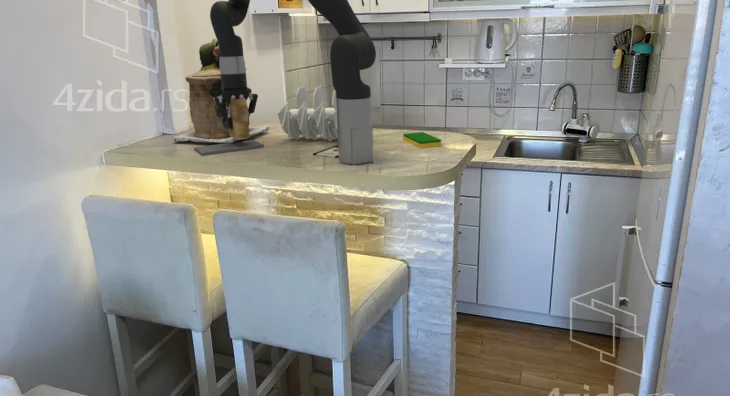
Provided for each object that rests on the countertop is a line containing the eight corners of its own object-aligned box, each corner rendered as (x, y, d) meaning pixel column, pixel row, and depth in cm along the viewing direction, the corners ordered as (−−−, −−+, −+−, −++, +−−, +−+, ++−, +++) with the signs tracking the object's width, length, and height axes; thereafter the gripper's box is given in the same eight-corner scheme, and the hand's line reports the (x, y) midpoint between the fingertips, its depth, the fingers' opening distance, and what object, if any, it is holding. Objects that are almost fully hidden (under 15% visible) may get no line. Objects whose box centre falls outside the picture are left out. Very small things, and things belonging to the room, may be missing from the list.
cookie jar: (169, 142, 179) (155, 40, 170) (212, 129, 202) (202, 39, 192) (235, 144, 171) (224, 37, 162) (272, 130, 194) (264, 36, 185)
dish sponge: (423, 139, 178) (423, 131, 177) (441, 147, 165) (441, 139, 165) (402, 141, 176) (402, 133, 175) (419, 149, 163) (419, 141, 163)
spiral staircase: (296, 148, 186) (366, 147, 179) (273, 135, 170) (349, 133, 162) (300, 96, 189) (369, 93, 181) (277, 78, 172) (353, 74, 165)
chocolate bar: (371, 144, 168) (338, 156, 154) (371, 147, 168) (338, 159, 154) (347, 141, 173) (312, 153, 158) (347, 144, 173) (313, 156, 158)
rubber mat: (263, 147, 170) (263, 144, 170) (202, 155, 161) (202, 153, 161) (253, 142, 178) (253, 139, 178) (194, 149, 169) (194, 147, 169)
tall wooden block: (241, 134, 175) (238, 96, 171) (249, 138, 168) (246, 99, 164) (229, 135, 173) (225, 97, 169) (237, 140, 166) (233, 100, 162)
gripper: (251, 69, 171) (256, 124, 176) (206, 72, 164) (212, 129, 169) (260, 71, 164) (264, 127, 170) (212, 74, 158) (219, 133, 163)
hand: (238, 128), depth 169 cm, fingers closed on tall wooden block, 4 cm apart
